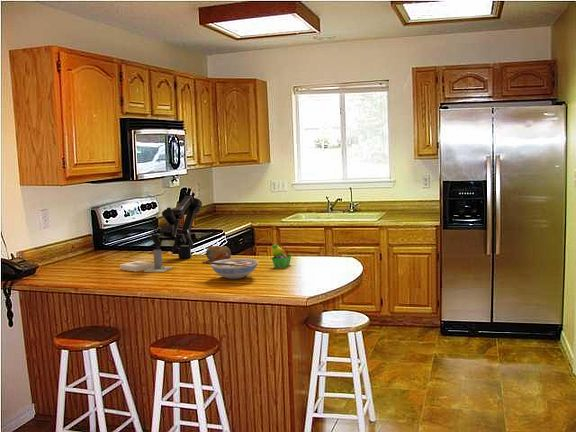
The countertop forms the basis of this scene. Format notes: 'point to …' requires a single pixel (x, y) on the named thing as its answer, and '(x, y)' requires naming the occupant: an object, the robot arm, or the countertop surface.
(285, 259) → the fruit basket
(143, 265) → the cover plate
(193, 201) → the robot arm
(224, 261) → the ramen bowl
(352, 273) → the countertop surface
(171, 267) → the key mat
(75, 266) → the countertop surface
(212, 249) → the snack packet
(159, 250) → the t key
